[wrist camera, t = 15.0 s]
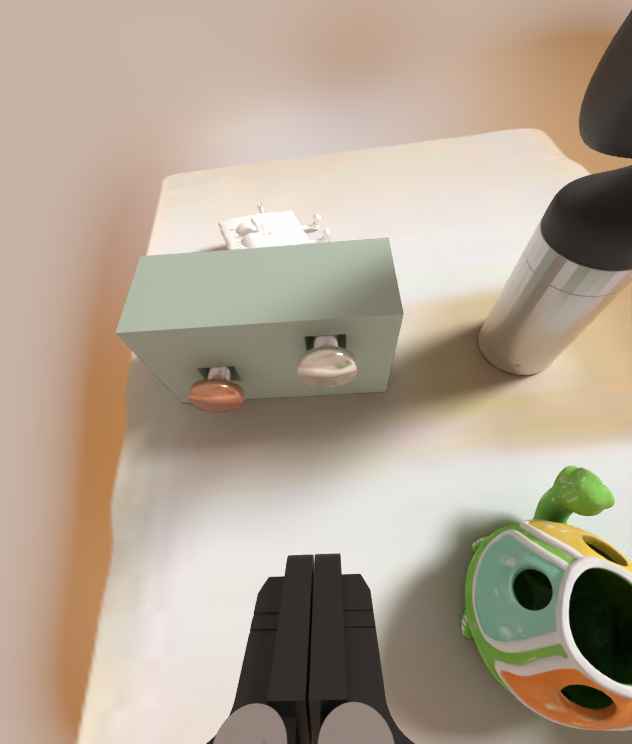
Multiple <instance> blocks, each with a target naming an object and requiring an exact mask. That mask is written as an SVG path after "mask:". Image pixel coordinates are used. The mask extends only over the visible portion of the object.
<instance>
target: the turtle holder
mask: <svg viewBox="0 0 632 744" xmlns="http://www.w3.org/2000/svg"><path fill="white" fill-rule="evenodd" d="M614 503H615V501H614V497H613V495H612V493H611V492H610V490H609V489H608V488H607V487H606V486H604V485H602V482H601V480H600V479H599V478H598V477H597V476H596V475H595V474H594V473H592V472H591V471H589V470H587V469H584V468H578V467H576V466H568V467H566V468H564V469H563V470H562V471H561V472H560V473H559V475H558V476H557V478H556V480H555V482H554V485H553V487H552V488H551V489H549V490H548V491H547V492H546V493H545V494H544V495H543V496H542V498H541V499H540V501H539V503H538V506H537V509H536V512H535V515H534V518H533V519H532V520H525V521H522V522H521V523H515V524H511V525H507V526H505V527H502V528H500V529H498V530H496V531H494V532H493V533H492V534H491V535H489V536H484V537H481V538H478V539H477V540H475V541H474V542H473V544H472V550H473V551H474V552H475V554H474V555H473V557H472V559H471V561H470V564H469V567H468V570H467V574H466V581H465V611H464V613H463V615H462V619H461V631H462V634H463V635H464V636H465V637H466V638H472V637H473V639H474V642H475V644H476V646H477V649H478V651H479V653H480V655H481V657H482V659H483V661H484V663H485V665H486V666H487V668H488V669H489V671H490V672H491V674H492V675H493V676H494V677H495V679H496V680H497V681H498V682H499V683H500V684H501V685H502V686H503V687H504V688H505V689H506V690H507V691H508V692H510V693H511V694H512V695H513V696H515V697H516V698H517V699H518V700H519V701H520V702H521V703H523V704H524V705H525V706H526V707H528V708H529V709H530V710H532V711H533V712H535V713H536V714H538V715H540V716H542V717H544V718H546V719H548V720H550V721H552V722H555V723H557V724H560V725H563V726H567V727H572V728H576V729H584V730H601V731H629V730H632V563H631V562H630V561H629V560H628V559H627V558H626V557H625V556H624V555H623V554H621V553H620V552H619V551H618V550H617V549H615V548H614V547H612V546H611V545H610V544H608V543H607V542H605V541H603V540H602V539H600V538H598V537H596V536H594V535H592V534H590V533H588V532H586V531H584V530H581V529H579V528H576V527H573V526H570V525H567V519H568V518H569V516H570V515H571V514H572V513H573V512H575V513H577V514H579V515H583V516H593V515H597V514H599V513H600V512H602V511H603V510H604V509H607V508H610V507H612V506H613V505H614Z"/></svg>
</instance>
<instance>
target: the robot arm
mask: <svg viewBox="0 0 632 744" xmlns="http://www.w3.org/2000/svg"><path fill="white" fill-rule="evenodd" d="M579 129H580V135H581V137H582V139H583V141H584V143H585V144H586V145H587V146H589V147H590V148H591V149H593V150H595V151H598V152H600V153H603V154H607V155H611V156H617V157H623V158H631V159H632V10H631V12H630V13H629V15H628V16H627V18H626V20H625V21H624V22H623V24H622V25H621V27H620V28H619V30H618V32H617V33H616V35H615V36H614V38H613V39H612V41H611V43H610V45H609V46H608V48H607V50H606V51H605V53H604V55H603V57H602V59H601V61H600V62H599V64H598V66H597V68H596V70H595V72H594V74H593V76H592V78H591V80H590V83H589V85H588V87H587V90H586V93H585V95H584V99H583V102H582V105H581V110H580V117H579ZM631 280H632V165H631V166H627V167H624V168H620V169H616V170H612V171H607V172H602V173H597V174H592V175H588V176H585V177H582V178H579V179H576V180H574V181H572V182H570V183H569V184H567V185H566V186H564V187H563V188H562V189H561V190H560V191H559V192H558V193H557V194H556V195H555V197H554V198H553V200H552V201H551V203H550V205H549V207H548V208H547V210H546V212H545V214H544V216H543V218H542V219H541V221H540V223H539V225H538V227H537V228H536V230H535V232H534V234H533V236H532V238H531V239H530V241H529V243H528V245H527V247H526V249H525V251H524V252H523V254H522V256H521V258H520V260H519V261H518V263H517V265H516V267H515V269H514V270H513V272H512V274H511V276H510V278H509V279H508V281H507V283H506V285H505V287H504V288H503V290H502V292H501V294H500V296H499V297H498V299H497V301H496V303H495V305H494V306H493V308H492V310H491V312H490V313H489V315H488V317H487V319H486V321H485V323H484V324H483V326H482V328H481V330H480V332H479V336H478V344H479V347H480V350H481V352H482V353H483V355H484V357H485V358H486V359H487V360H488V361H489V362H490V363H491V364H493V365H494V366H496V367H497V368H499V369H501V370H503V371H505V372H508V373H512V374H517V375H531V374H536V373H539V372H541V371H543V370H544V369H546V368H547V367H548V366H549V365H550V364H551V363H552V362H553V361H554V360H555V359H556V358H557V357H558V356H559V355H560V354H561V353H562V352H563V351H564V350H565V349H566V348H567V347H568V346H569V345H570V344H571V343H572V342H573V341H574V340H575V339H576V337H577V336H578V335H579V334H580V333H581V332H582V331H583V330H584V329H585V328H586V327H587V326H588V325H589V324H590V323H591V322H592V321H593V320H594V319H595V318H596V317H597V316H598V315H599V314H600V313H601V312H602V311H603V310H604V309H605V308H606V306H607V305H608V304H609V303H610V302H611V301H612V300H613V299H614V298H615V297H616V296H617V295H618V294H619V293H620V292H621V291H622V290H623V289H624V288H625V287H626V286H627V285H628V284H629V282H630V281H631ZM207 744H414V743H413V742H412V741H410V740H409V739H408V738H407V737H406V736H405V735H404V734H403V733H402V732H401V731H400V729H399V728H398V727H397V725H396V724H395V722H394V721H393V719H392V717H391V715H390V712H389V709H388V707H387V703H386V698H385V691H384V684H383V677H382V670H381V663H380V656H379V648H378V641H377V634H376V628H375V620H374V613H373V606H372V599H371V591H370V589H369V587H368V585H367V584H366V582H365V581H364V579H363V577H362V576H361V574H344V575H342V573H341V557H340V554H315V563H314V555H288V558H287V563H286V571H285V577H269V578H268V579H267V581H266V582H265V584H264V585H263V587H262V588H261V590H260V591H259V593H258V596H257V601H256V606H255V610H254V617H253V619H252V624H251V628H250V634H249V638H248V642H247V647H246V651H245V656H244V660H243V665H242V670H241V674H240V679H239V683H238V688H237V692H236V697H235V701H234V705H233V708H232V710H231V713H230V715H229V717H228V718H227V719H226V720H225V722H224V723H223V724H222V726H221V727H220V729H219V731H218V733H217V734H216V735H215V737H214V738H212V739H211V740H210V741H209V742H208V743H207Z"/></svg>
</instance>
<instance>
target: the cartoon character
mask: <svg viewBox="0 0 632 744" xmlns="http://www.w3.org/2000/svg"><path fill="white" fill-rule="evenodd" d="M262 206H263V202H262V203H261V206H260V203H258V209H259V212H260V213H262V214H254V215H251V216H248V215H245V216H243V217H241V218H231V219H229V220H226V221H222V222H219V223H218V224H219V227H220V229H221V233H222V236H223V238H224V240H225V242H226V246H227V248H228V249H229V250H233V249H247V248H260V247H273V246H286V245H300V244H313V243H319V242H322V243H326V242H329V239H330V238H329V237H330V230H329V229H328V228H324V229H323V235H324V236H323V237H322V238H321V239H317V240H311V241H310V240H309V238H308V237H307V235H306V233H305V232H304V230H303V229H308V228H313V229H315V230H317V229H319V228H320V222H321V217H320V215H319V214H315V215H314V217H313V218H314V223H313V224H312V225H306V226H301V225H300V223H299V222H298V220H297V218H296V217H295V215H294V214H293V212H292V211H286V212H269V213H264V212H263V208H262Z"/></svg>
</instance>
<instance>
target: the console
mask: <svg viewBox="0 0 632 744" xmlns="http://www.w3.org/2000/svg"><path fill="white" fill-rule="evenodd" d="M402 318H403V309H402V304H401V299H400V294H399V289H398V284H397V279H396V274H395V269H394V263H393V258H392V253H391V248H390V243H389V238H379V239H366V240H353V241H339V242H326V243H313V244H300V245H286V246H273V247H260V248H247V249H233V250H220V251H207V252H193V253H180V254H167V255H154V256H141V257H140V259H139V262H138V265H137V269H136V272H135V275H134V278H133V281H132V284H131V287H130V290H129V293H128V296H127V299H126V303H125V306H124V309H123V312H122V315H121V318H120V321H119V324H118V327H117V330H116V334H117V335H118V336H119V337H120V338H121V339H122V340H123V341H124V342H125V343H126V345H127V346H128V347H129V348H130V349H131V350H132V351H133V352H134V353H135V354H136V355H137V356H138V357H139V358H140V359H141V360H142V362H143V363H144V364H145V365H146V366H147V367H148V368H149V369H150V370H151V371H152V372H153V373H154V374H155V375H156V376H157V378H158V379H159V380H160V381H161V382H162V383H163V384H164V385H165V386H166V387H167V388H168V389H169V390H170V391H171V392H172V394H173V395H174V396H175V397H176V398H177V399H178V400H179V401H180V402H181V403H190V402H189V393H190V388H191V385H192V384H193V383H195V382H197V381H200V380H204V379H208V374H209V368H212V367H229V366H232V370H231V379H230V382H233V383H235V384H237V385H239V386H240V387H241V388H242V389H243V391H244V399H243V400H246V399H264V398H282V397H300V396H318V395H336V394H354V393H372V392H386V389H387V385H388V380H389V376H390V371H391V367H392V363H393V358H394V354H395V349H396V345H397V340H398V336H399V332H400V327H401V323H402ZM323 335H337V337H338V347H341V348H344V349H347V350H349V351H350V352H352V353H353V354H354V356H355V358H356V364H357V374H356V376H355V378H354V379H353V380H351V381H350V382H348V383H346V384H343V385H340V386H336V387H327V388H323V387H314V386H310V385H308V384H305V383H304V382H302V381H301V380H300V379H299V378H298V375H297V361H298V358H299V357H300V356H301V355H302V354H303V353H304V352H306V351H308V350H310V349H313V348H314V340H313V336H323Z"/></svg>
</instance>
